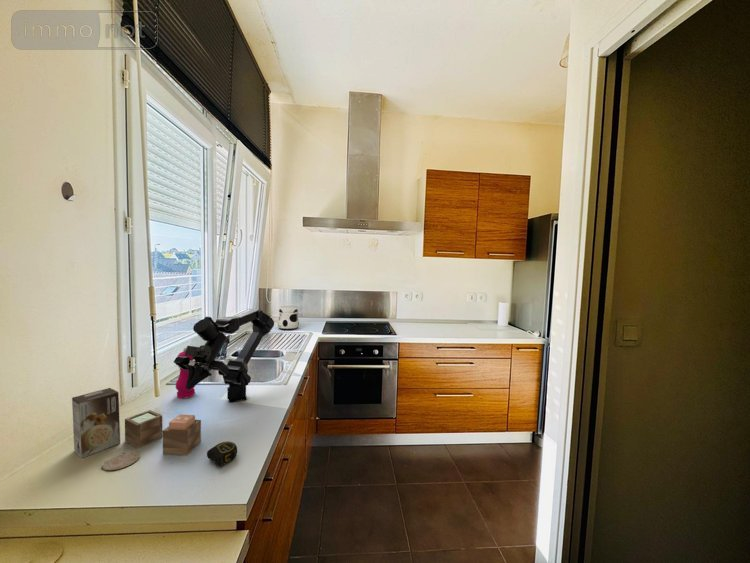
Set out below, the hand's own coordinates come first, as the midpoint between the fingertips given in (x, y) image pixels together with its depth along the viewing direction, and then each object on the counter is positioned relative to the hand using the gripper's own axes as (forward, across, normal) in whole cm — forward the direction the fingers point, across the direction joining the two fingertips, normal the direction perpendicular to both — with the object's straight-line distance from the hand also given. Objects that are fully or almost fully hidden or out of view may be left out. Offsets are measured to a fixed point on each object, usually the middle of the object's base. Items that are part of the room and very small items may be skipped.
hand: (187, 389), depth 103 cm
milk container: (-96, -48, +115) cm, 157 cm away
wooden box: (+16, +7, +4) cm, 18 cm away
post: (+16, -8, +4) cm, 18 cm away
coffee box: (+21, -16, -1) cm, 27 cm away
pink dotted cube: (+13, +7, 0) cm, 14 cm away
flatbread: (+23, -3, -3) cm, 24 cm away
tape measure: (+17, +22, +2) cm, 28 cm away
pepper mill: (-5, -22, +24) cm, 33 cm away
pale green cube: (+14, -8, +2) cm, 16 cm away
